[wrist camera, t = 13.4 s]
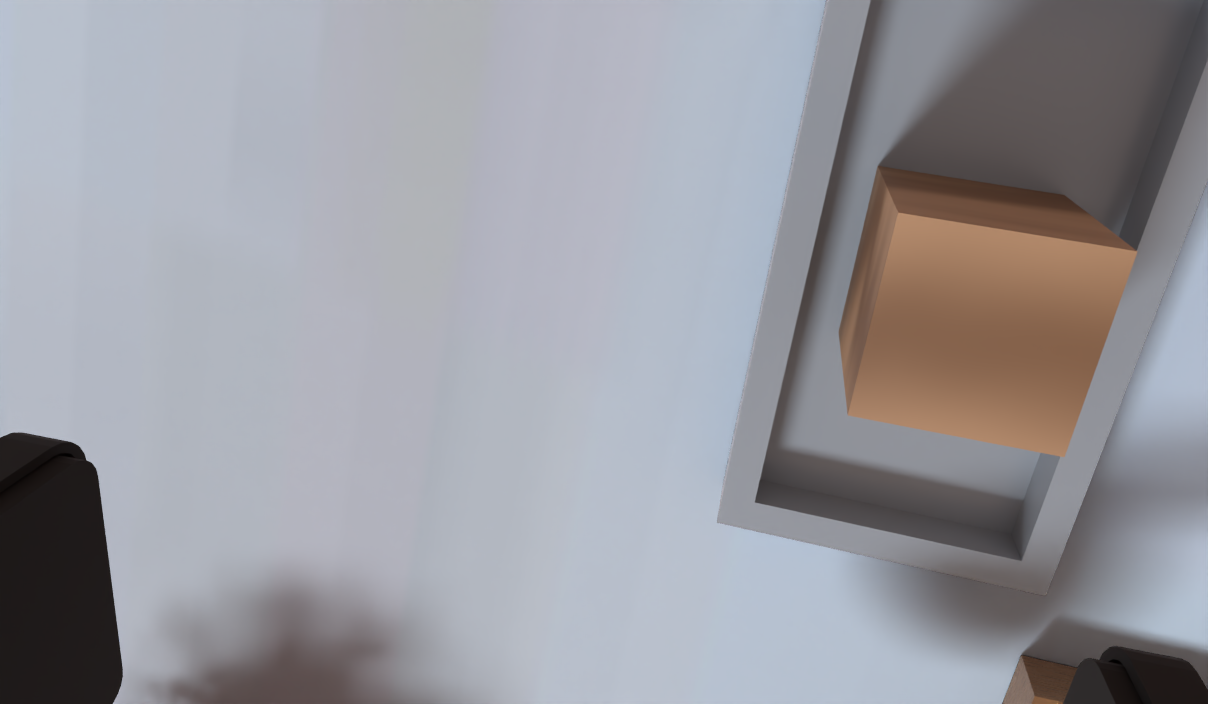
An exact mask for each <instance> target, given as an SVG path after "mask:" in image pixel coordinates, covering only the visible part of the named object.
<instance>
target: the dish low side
mask: <svg viewBox="0 0 1208 704" xmlns="http://www.w3.org/2000/svg"><path fill="white" fill-rule="evenodd" d="M877 166H882V167H888V168H895V169H901V170H908V171H914V172H920V173H927V174H933V175H940V176H946V177H952V178H959V179H965V180H972V181H978V182H984V183H991V184H997V185H1004V186H1010V187H1017V188H1023V189H1029V190H1036V191H1042V192H1049V193H1055V194H1061V195H1065V196H1066V197H1068V198H1069V199H1070V200H1072V201H1073V202H1074V203H1075V204H1077V205H1078V206H1079V207H1081V208H1082V209H1083V210H1085V211H1086V212H1087V213H1088V214H1090V215H1091V216H1092V217H1094V218H1095V219H1096V220H1098V221H1099V222H1100V223H1101V224H1103V225H1104V226H1105V227H1107V228H1108V229H1109V230H1110V231H1112V232H1113V233H1114V234H1116V235H1117V236H1118V237H1120V238H1121V239H1122V240H1123V241H1125V242H1126V243H1127V244H1129V245H1130V246H1131V247H1133V248H1134V249H1135V250H1136V251H1138V252H1137V255H1136V258H1135V260H1134V263H1133V266H1132V269H1131V272H1130V275H1129V277H1128V280H1127V283H1126V286H1125V289H1124V291H1123V294H1122V297H1121V300H1120V303H1119V305H1118V308H1117V311H1116V314H1115V317H1114V320H1113V322H1112V325H1111V328H1110V331H1109V334H1108V336H1107V339H1106V342H1105V345H1104V348H1103V350H1102V353H1101V356H1100V359H1099V362H1098V365H1097V367H1096V370H1095V373H1094V376H1093V379H1092V381H1091V384H1090V387H1089V390H1088V393H1087V395H1086V398H1085V401H1084V404H1083V407H1082V410H1081V412H1080V415H1079V418H1078V421H1077V424H1076V426H1075V429H1074V432H1073V435H1072V438H1071V440H1070V443H1069V446H1068V449H1067V452H1066V454H1065V457H1060V456H1055V455H1050V454H1045V453H1039V452H1034V451H1029V450H1024V449H1019V448H1014V447H1008V446H1003V445H998V444H993V443H988V442H982V441H977V440H972V439H967V438H962V437H956V436H951V435H946V434H941V433H936V432H931V431H925V430H920V429H915V428H910V427H905V426H899V425H894V424H889V423H884V422H879V421H874V420H868V419H863V418H858V417H853V416H848V414H847V405H846V396H845V387H844V378H843V369H842V359H841V350H840V341H839V327H840V323H841V319H842V315H843V311H844V306H845V302H846V298H847V294H848V289H849V285H850V281H851V277H852V272H853V268H854V264H855V260H856V255H857V251H858V247H859V243H860V238H861V234H862V230H863V226H864V221H865V217H866V213H867V209H868V204H869V200H870V196H871V192H872V187H873V183H874V179H875V175H876V170H877ZM1207 181H1208V0H826V4H825V9H824V13H823V18H822V23H821V28H820V32H819V37H818V42H817V46H816V51H815V56H814V60H813V65H812V70H811V74H810V79H809V84H808V88H807V93H806V98H805V102H804V107H803V112H802V116H801V121H800V126H799V130H798V135H797V140H796V144H795V149H794V154H793V159H792V163H791V168H790V173H789V177H788V182H787V187H786V191H785V196H784V201H783V205H782V210H781V215H780V219H779V224H778V229H777V233H776V238H775V243H774V247H773V252H772V257H771V261H770V266H769V271H768V275H767V280H766V285H765V290H764V294H763V299H762V304H761V308H760V313H759V318H758V322H757V327H756V332H755V336H754V341H753V346H752V350H751V355H750V360H749V364H748V369H747V374H746V378H745V383H744V388H743V392H742V397H741V402H740V406H739V411H738V416H737V421H736V425H735V430H734V435H733V439H732V444H731V449H730V453H729V458H728V463H727V467H726V472H725V477H724V481H723V487H722V493H721V499H720V506H719V512H718V518H717V523H721V524H726V525H730V526H735V527H739V528H743V529H748V530H752V531H757V532H761V533H766V534H770V535H775V536H779V537H784V538H788V539H792V540H797V541H801V542H806V543H810V544H815V545H819V546H824V547H828V548H833V549H837V550H842V551H846V552H850V553H855V554H859V555H864V556H868V557H873V558H877V559H882V560H886V561H891V562H895V563H900V564H904V565H908V566H913V567H917V568H922V569H926V570H931V571H935V572H940V573H944V574H949V575H953V576H958V577H962V578H966V579H971V580H975V581H980V582H984V583H989V584H993V585H998V586H1002V587H1007V588H1011V589H1016V590H1020V591H1024V592H1029V593H1033V594H1038V595H1042V596H1046V595H1047V592H1048V589H1049V587H1050V584H1051V582H1052V579H1053V577H1054V574H1055V571H1056V569H1057V566H1058V564H1059V561H1060V559H1061V556H1062V553H1063V551H1064V548H1065V546H1066V543H1067V541H1068V538H1069V535H1070V533H1071V530H1072V528H1073V525H1074V523H1075V520H1076V517H1077V515H1078V512H1079V510H1080V507H1081V505H1082V502H1083V500H1084V497H1085V494H1086V492H1087V489H1088V487H1089V484H1090V482H1091V479H1092V476H1093V474H1094V471H1095V469H1096V466H1097V464H1098V461H1099V458H1100V456H1101V453H1102V451H1103V448H1104V446H1105V443H1106V440H1107V438H1108V435H1109V433H1110V430H1111V428H1112V425H1113V422H1114V420H1115V417H1116V415H1117V412H1118V410H1119V407H1120V404H1121V402H1122V399H1123V397H1124V394H1125V392H1126V389H1127V387H1128V384H1129V381H1130V379H1131V376H1132V374H1133V371H1134V369H1135V366H1136V363H1137V361H1138V358H1139V356H1140V353H1141V351H1142V348H1143V345H1144V343H1145V340H1146V338H1147V335H1148V333H1149V330H1150V327H1151V325H1152V322H1153V320H1154V317H1155V315H1156V312H1157V309H1158V307H1159V304H1160V302H1161V299H1162V297H1163V294H1164V292H1165V289H1166V286H1167V284H1168V281H1169V279H1170V276H1171V274H1172V271H1173V268H1174V266H1175V263H1176V261H1177V258H1178V256H1179V253H1180V250H1181V248H1182V245H1183V243H1184V240H1185V238H1186V235H1187V232H1188V230H1189V227H1190V225H1191V222H1192V220H1193V217H1194V214H1195V212H1196V209H1197V207H1198V204H1199V202H1200V199H1201V197H1202V194H1203V191H1204V189H1205V186H1206V184H1207Z"/></svg>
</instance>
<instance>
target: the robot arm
mask: <svg viewBox="0 0 1208 704" xmlns="http://www.w3.org/2000/svg"><path fill="white" fill-rule="evenodd" d="M122 677H123V668H122V660H121V653H120V645H119V637H118V629H117V621H116V614H115V606H114V598H113V590H112V582H111V574H110V567H109V559H108V551H107V543H106V535H105V528H104V520H103V512H102V504H101V496H100V488H99V481H98V475H97V471H96V468H95V467H94V465H93V464H92V463H91V462H89V461H86V458H85V454H84V452H83V451H82V450H81V448H80V447H79V446H78V445H76V444H74V443H72V442H68V441H63V440H57V439H52V438H47V437H42V436H37V435H32V434H27V433H10V434H8V435H6V436H3V437H1V438H0V704H113V702H114V700H115V698H116V696H117V694H118V692H119V689H120V686H121V682H122ZM1063 704H1208V690H1207V688H1206V687H1205V685H1204V683H1203V681H1202V680H1201V678H1200V676H1199V675H1198V673H1197V671H1196V670H1195V669H1194V668H1193V667H1192V665H1191V664H1190V663H1189V662H1187V661H1185V660H1183V659H1180V658H1175V657H1170V656H1165V655H1159V654H1154V653H1149V652H1144V651H1139V650H1134V649H1129V648H1124V647H1118V646H1115V647H1109V648H1108V649H1107V650H1106V651H1105V652H1104V653H1103V654H1102V656H1101V658H1100V660H1096V659H1091V658H1089V659H1085V660H1083V661H1082V662H1081V663H1080V665H1079V667H1078V669H1077V670H1076V673H1075V675H1074V678H1073V680H1072V683H1071V685H1070V688H1069V690H1068V693H1067V695H1066V697H1065V700H1064V702H1063Z"/></svg>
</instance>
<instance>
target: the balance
mask: <svg viewBox="0 0 1208 704" xmlns="http://www.w3.org/2000/svg"><path fill="white" fill-rule="evenodd" d="M1077 669H1078V668H1075V667H1070V666H1066V665H1062V664H1057V663H1053V662H1049V661H1044V660H1040V659H1036V658H1032V657H1027V656H1023V655H1021V657H1020V659H1019V662H1018V665H1017V667H1016V670H1015V672H1014V675H1013V677H1012V680H1011V683H1010V685H1009V688H1008V690H1007V693H1006V695H1005V698H1004V701H1003V703H1002V704H1063V702H1064V700H1065V697H1066V695H1067V693H1068V690H1069V688H1070V685H1071V683H1072V680H1073V678H1074V675H1075V673H1076V670H1077Z"/></svg>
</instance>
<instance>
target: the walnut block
mask: <svg viewBox="0 0 1208 704" xmlns="http://www.w3.org/2000/svg"><path fill="white" fill-rule="evenodd" d="M1137 252H1138V251H1136V250H1135V249H1134V248H1133V247H1131V246H1130V245H1129V244H1127V243H1126V242H1125V241H1123V240H1122V239H1121V238H1120V237H1118V236H1117V235H1116V234H1114V233H1113V232H1112V231H1110V230H1109V229H1108V228H1107V227H1105V226H1104V225H1103V224H1101V223H1100V222H1099V221H1098V220H1096V219H1095V218H1094V217H1092V216H1091V215H1090V214H1088V213H1087V212H1086V211H1085V210H1083V209H1082V208H1081V207H1079V206H1078V205H1077V204H1075V203H1074V202H1073V201H1072V200H1070V199H1069V198H1068V197H1066V196H1065V195H1061V194H1055V193H1049V192H1042V191H1036V190H1029V189H1023V188H1017V187H1010V186H1004V185H997V184H991V183H984V182H978V181H972V180H965V179H959V178H952V177H946V176H940V175H933V174H927V173H920V172H914V171H908V170H901V169H895V168H888V167H882V166H877V170H876V175H875V179H874V183H873V187H872V192H871V196H870V200H869V204H868V209H867V213H866V217H865V221H864V226H863V230H862V234H861V238H860V243H859V247H858V251H857V255H856V260H855V264H854V268H853V272H852V277H851V281H850V285H849V289H848V294H847V298H846V302H845V306H844V311H843V315H842V319H841V323H840V327H839V341H840V350H841V359H842V369H843V378H844V387H845V396H846V405H847V414H848V416H853V417H858V418H863V419H868V420H874V421H879V422H884V423H889V424H894V425H899V426H905V427H910V428H915V429H920V430H925V431H931V432H936V433H941V434H946V435H951V436H956V437H962V438H967V439H972V440H977V441H982V442H988V443H993V444H998V445H1003V446H1008V447H1014V448H1019V449H1024V450H1029V451H1034V452H1039V453H1045V454H1050V455H1055V456H1060V457H1065V454H1066V452H1067V449H1068V446H1069V443H1070V440H1071V438H1072V435H1073V432H1074V429H1075V426H1076V424H1077V421H1078V418H1079V415H1080V412H1081V410H1082V407H1083V404H1084V401H1085V398H1086V395H1087V393H1088V390H1089V387H1090V384H1091V381H1092V379H1093V376H1094V373H1095V370H1096V367H1097V365H1098V362H1099V359H1100V356H1101V353H1102V350H1103V348H1104V345H1105V342H1106V339H1107V336H1108V334H1109V331H1110V328H1111V325H1112V322H1113V320H1114V317H1115V314H1116V311H1117V308H1118V305H1119V303H1120V300H1121V297H1122V294H1123V291H1124V289H1125V286H1126V283H1127V280H1128V277H1129V275H1130V272H1131V269H1132V266H1133V263H1134V260H1135V258H1136V255H1137Z"/></svg>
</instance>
